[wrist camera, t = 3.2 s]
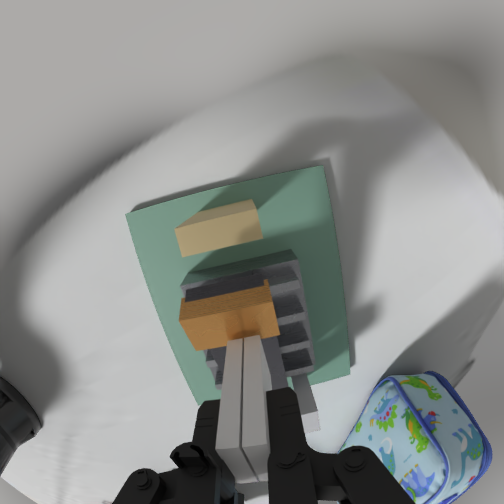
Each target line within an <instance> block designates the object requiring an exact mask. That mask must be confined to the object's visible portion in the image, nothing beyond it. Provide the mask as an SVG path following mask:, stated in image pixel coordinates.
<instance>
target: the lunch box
mask: <svg viewBox="0 0 504 504" xmlns="http://www.w3.org/2000/svg"><path fill="white" fill-rule="evenodd" d="M351 446H365V447H368V448H370V449H371V450H372V451H373V452H374V453H375V454H376V455H377V456H378V458H379V459H380V460H381V462H382V463H383V464H384V465H385V467H386V468H387V469H388V470H389V472H390V473H391V474H392V475H393V476H394V478H395V479H396V480H397V481H398V483H399V484H400V485H401V486H402V488H403V489H404V490H405V491H406V492H407V494H408V495H409V496H410V497H411V498H412V500H413V501H414V502H415V503H416V504H451V503H452V502H454V501H455V500H456V499H457V498H459V497H460V496H461V495H462V494H463V493H465V492H466V491H467V490H468V489H469V488H470V487H471V486H472V485H474V484H475V483H476V482H477V481H478V480H479V479H480V478H481V477H482V475H483V474H484V473H485V472H486V471H487V469H488V467H489V466H490V464H491V461H492V448H491V445H490V443H489V442H488V440H487V438H486V436H485V435H484V433H483V432H482V430H481V429H480V427H479V425H478V424H477V422H476V420H475V419H474V417H473V415H472V414H471V412H470V411H469V409H468V408H467V406H466V405H465V403H464V402H463V400H462V399H461V398H460V396H459V395H458V393H457V392H456V391H455V390H454V388H453V387H452V386H451V384H450V383H449V382H448V381H447V380H446V379H445V378H444V377H443V376H441V375H440V374H438V373H436V372H433V371H427V372H425V373H423V374H416V375H393V376H388V377H387V378H385V379H383V380H382V381H381V382H380V383H379V384H378V385H377V386H376V387H375V388H374V390H373V391H372V393H371V395H370V397H369V399H368V401H367V403H366V405H365V407H364V409H363V411H362V413H361V415H360V417H359V419H358V421H357V423H356V424H355V426H354V428H353V430H352V431H351V432H350V434H349V436H348V438H347V439H346V441H345V443H344V444H343V446H342V447H341V448H340V450H339V451H338V453H339V452H341V451H342V450H344V449H345V448H348V447H351ZM338 453H337V454H338ZM337 503H338V501H337ZM338 504H339V503H338Z"/></svg>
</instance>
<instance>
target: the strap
mask: <svg viewBox="0 0 504 504" xmlns="http://www.w3.org/2000/svg"><path fill="white" fill-rule="evenodd" d="M179 322H180V324H181V326H182V328H183V330H184V331H185V333H186V335H187V337H188V338H189V340H190V342H191V343H192V345H193V347H194V348H195V350H196V351H200V350H206V349H209V351H210V352H211V354H212V356H213V358H214V360H215V361H216V363H217V365H218V367H219V369H220V370H221V372H222V374H224V365H225V357H226V348H227V341H230V340H235V339H241V338H242V339H243V342H244V338H246V337H251V336H256V335H260V338H261V342H262V346H263V350H264V353H265V357H266V361H267V364H268V368H269V372H270V375H271V385H272V390H275V389H280V388H285V387H289V385H288V381H287V377H286V373H285V368H284V364H283V360H282V355H281V351H280V347H279V343H278V338H277V335H280V332H279V328H278V323H277V319H276V314H275V310H274V305H273V301H272V296H271V292H270V288H269V283H268V279H266V280H264V279H263V275H262V273H258V274H254V275H250V276H245V277H241V278H236V279H232V280H227V281H223V282H218V283H214V284H209V285H205V286H200V287H195V288H191V289H186V295H185V297H184V298H181V306H180V314H179Z"/></svg>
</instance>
